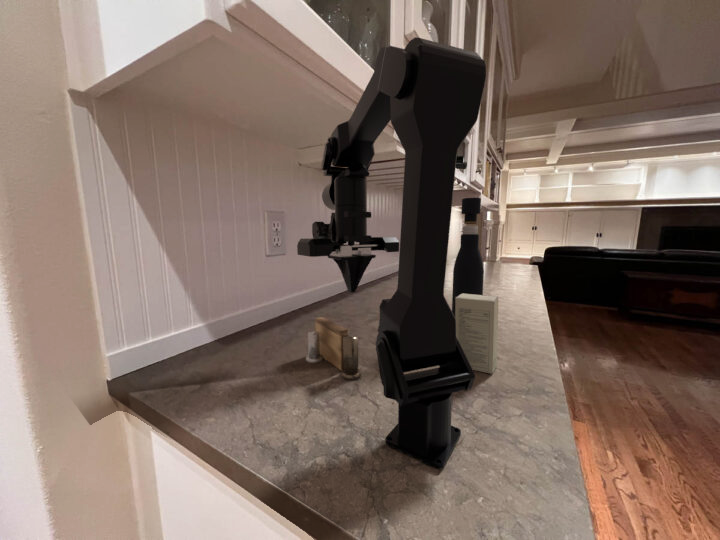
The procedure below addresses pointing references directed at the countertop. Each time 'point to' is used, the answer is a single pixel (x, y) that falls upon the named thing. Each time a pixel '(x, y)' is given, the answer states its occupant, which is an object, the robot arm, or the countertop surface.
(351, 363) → the hinge post
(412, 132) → the robot arm
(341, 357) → the gate
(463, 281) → the wine bottle
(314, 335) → the post
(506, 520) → the countertop surface
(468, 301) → the skincare box
